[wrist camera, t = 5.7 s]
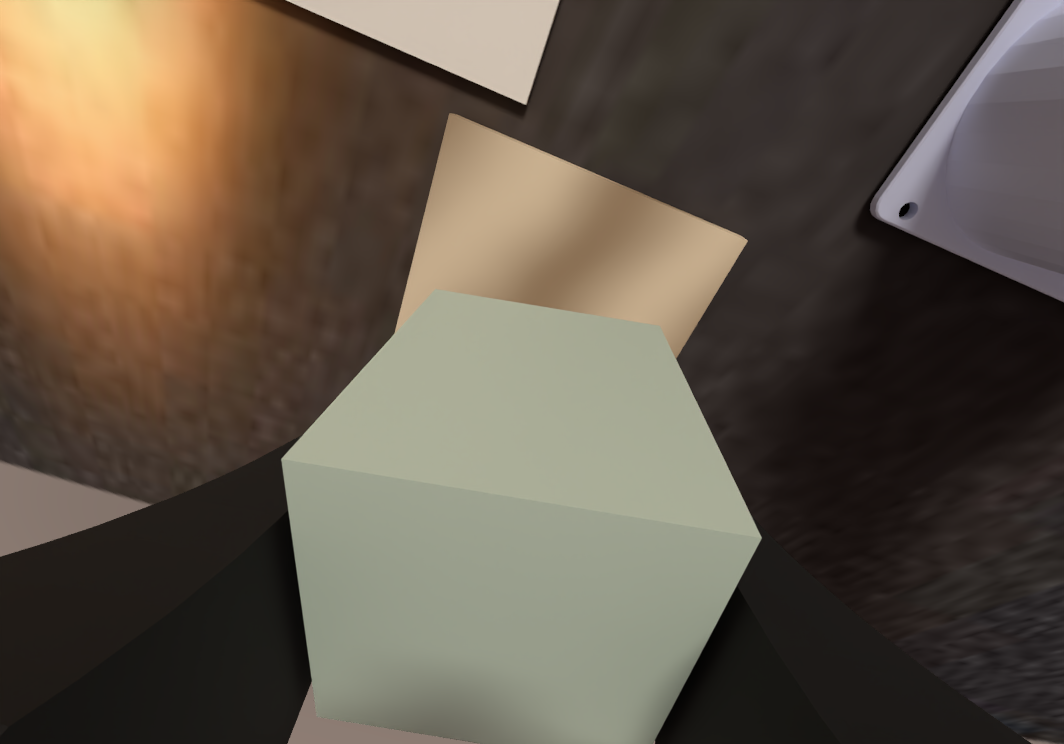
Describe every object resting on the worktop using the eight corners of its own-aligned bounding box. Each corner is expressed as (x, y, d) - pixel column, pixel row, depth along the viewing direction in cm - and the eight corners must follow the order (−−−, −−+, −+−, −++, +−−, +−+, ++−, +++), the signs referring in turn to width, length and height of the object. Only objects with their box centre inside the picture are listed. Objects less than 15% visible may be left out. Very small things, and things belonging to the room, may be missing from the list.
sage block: (659, 326, 10) (762, 538, 5) (609, 496, 12) (639, 770, 7) (435, 289, 10) (281, 459, 5) (426, 466, 12) (317, 715, 7)
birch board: (740, 235, 15) (747, 240, 15) (609, 452, 20) (611, 464, 19) (455, 113, 14) (449, 113, 13) (389, 373, 19) (382, 383, 18)
